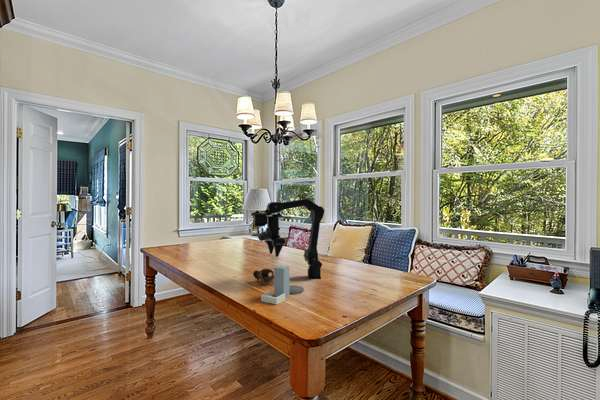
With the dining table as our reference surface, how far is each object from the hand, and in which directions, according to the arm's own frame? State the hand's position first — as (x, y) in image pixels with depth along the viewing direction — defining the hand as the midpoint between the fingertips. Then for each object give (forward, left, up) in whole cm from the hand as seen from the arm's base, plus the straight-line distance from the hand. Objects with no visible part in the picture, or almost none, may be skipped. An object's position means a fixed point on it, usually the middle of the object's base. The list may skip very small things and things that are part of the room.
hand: (273, 255), depth 152 cm
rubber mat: (-8, +16, -14) cm, 23 cm away
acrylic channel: (+1, +29, -14) cm, 32 cm away
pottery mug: (+5, +2, -14) cm, 15 cm away
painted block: (-3, +23, -14) cm, 27 cm away
